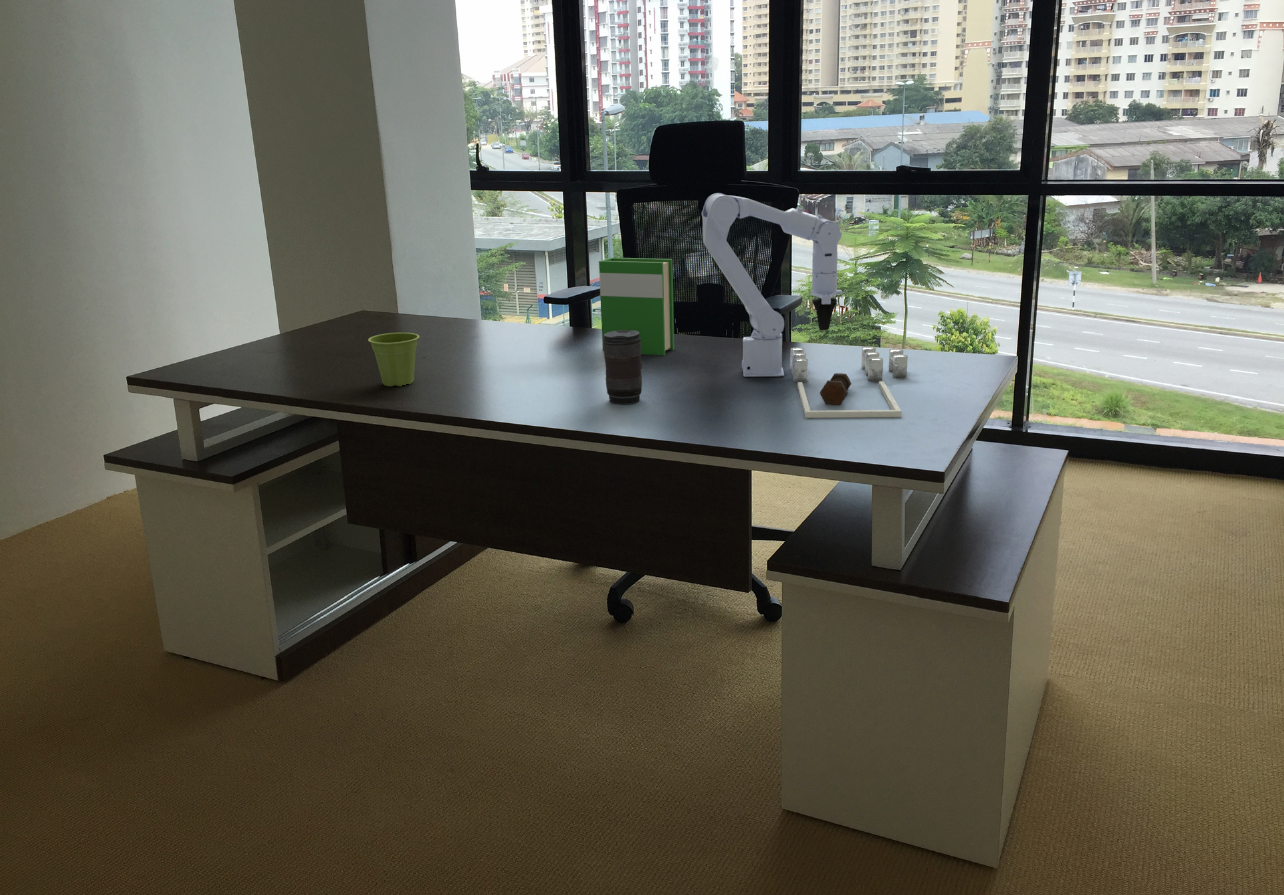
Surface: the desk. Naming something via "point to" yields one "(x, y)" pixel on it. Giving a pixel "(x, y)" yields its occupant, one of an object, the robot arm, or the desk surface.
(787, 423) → the desk surface
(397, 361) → the plant pot
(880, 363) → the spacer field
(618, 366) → the camera lens
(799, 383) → the tray rim
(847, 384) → the bolt
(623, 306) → the hardback book
